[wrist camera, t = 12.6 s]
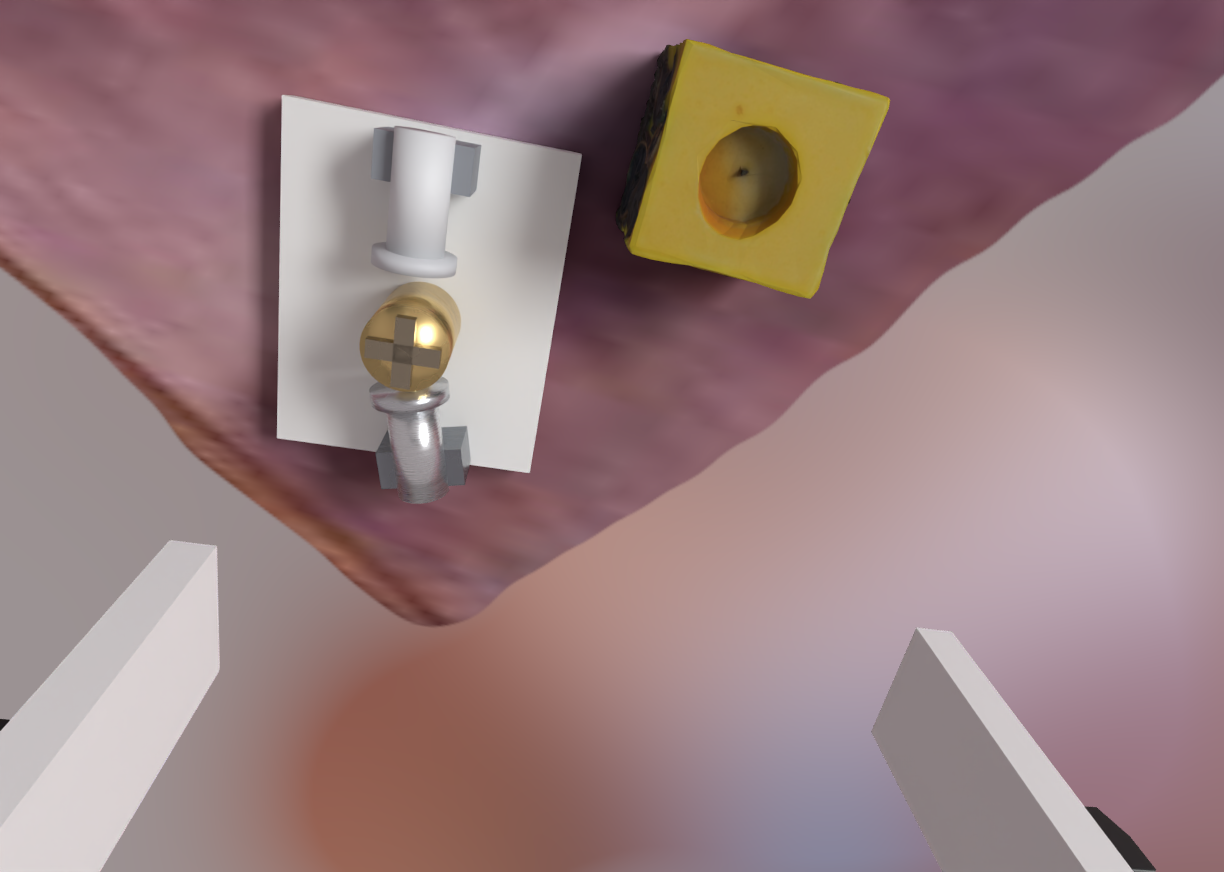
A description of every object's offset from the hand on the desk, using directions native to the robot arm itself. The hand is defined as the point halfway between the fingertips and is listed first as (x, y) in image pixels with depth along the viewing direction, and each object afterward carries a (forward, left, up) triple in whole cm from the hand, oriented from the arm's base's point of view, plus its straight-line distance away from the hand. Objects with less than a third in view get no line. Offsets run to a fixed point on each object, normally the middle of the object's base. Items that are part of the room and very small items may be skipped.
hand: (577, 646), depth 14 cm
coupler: (+4, -8, -33) cm, 34 cm away
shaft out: (+10, -7, -33) cm, 35 cm away
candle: (-8, +8, -35) cm, 37 cm away
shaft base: (+3, -8, -35) cm, 36 cm away
